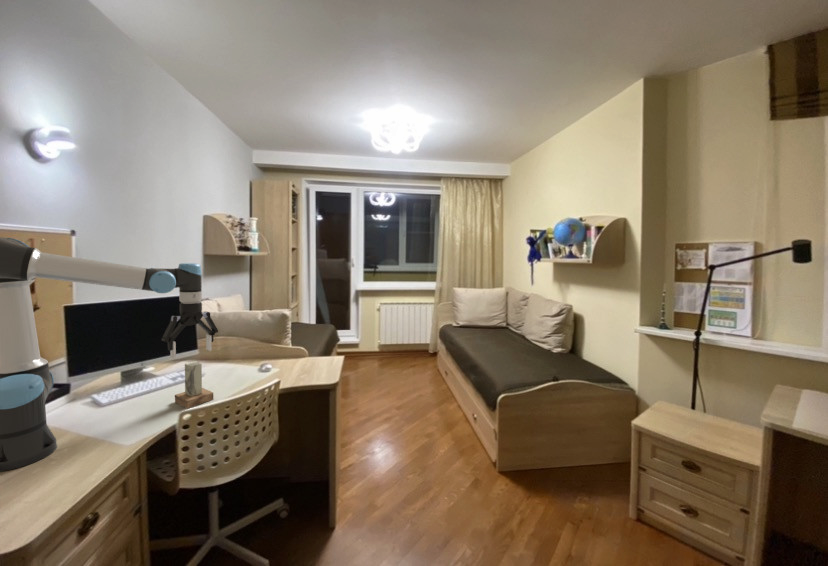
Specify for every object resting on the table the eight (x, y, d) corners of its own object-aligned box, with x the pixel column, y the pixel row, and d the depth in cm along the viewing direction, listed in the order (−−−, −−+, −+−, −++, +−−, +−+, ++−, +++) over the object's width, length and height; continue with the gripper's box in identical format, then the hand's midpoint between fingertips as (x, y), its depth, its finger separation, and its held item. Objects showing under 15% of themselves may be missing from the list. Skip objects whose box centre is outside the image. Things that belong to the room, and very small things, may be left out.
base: (187, 408, 137) (187, 401, 137) (175, 402, 142) (174, 394, 142) (213, 399, 146) (213, 392, 145) (200, 393, 151) (200, 386, 150)
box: (184, 394, 143) (183, 363, 142) (195, 390, 147) (194, 360, 146) (192, 397, 140) (190, 366, 139) (203, 393, 144) (202, 363, 143)
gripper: (159, 306, 127) (161, 363, 129) (226, 299, 148) (227, 348, 150) (150, 304, 131) (151, 359, 133) (216, 298, 152) (217, 345, 154)
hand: (191, 354), depth 142 cm, fingers open, 13 cm apart
